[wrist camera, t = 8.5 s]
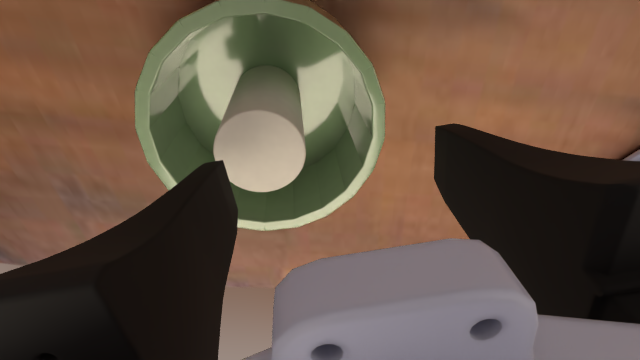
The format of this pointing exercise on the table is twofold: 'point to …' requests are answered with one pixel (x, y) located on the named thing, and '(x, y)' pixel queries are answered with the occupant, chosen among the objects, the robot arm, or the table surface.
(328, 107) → the holder
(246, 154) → the white canister
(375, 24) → the table surface
